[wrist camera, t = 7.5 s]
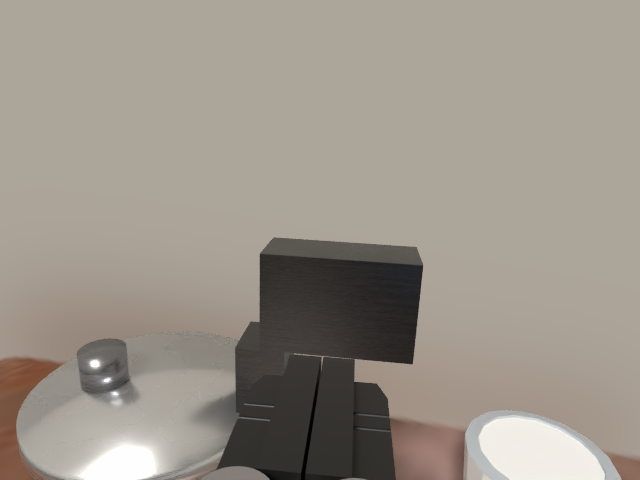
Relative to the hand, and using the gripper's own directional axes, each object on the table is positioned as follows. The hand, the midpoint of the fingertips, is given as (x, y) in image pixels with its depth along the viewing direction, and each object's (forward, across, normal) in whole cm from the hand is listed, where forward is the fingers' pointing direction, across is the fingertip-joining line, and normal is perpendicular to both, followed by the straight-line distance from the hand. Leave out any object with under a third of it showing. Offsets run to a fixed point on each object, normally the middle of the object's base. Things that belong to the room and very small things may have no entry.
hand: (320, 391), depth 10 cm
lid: (+8, +5, +7) cm, 11 cm away
